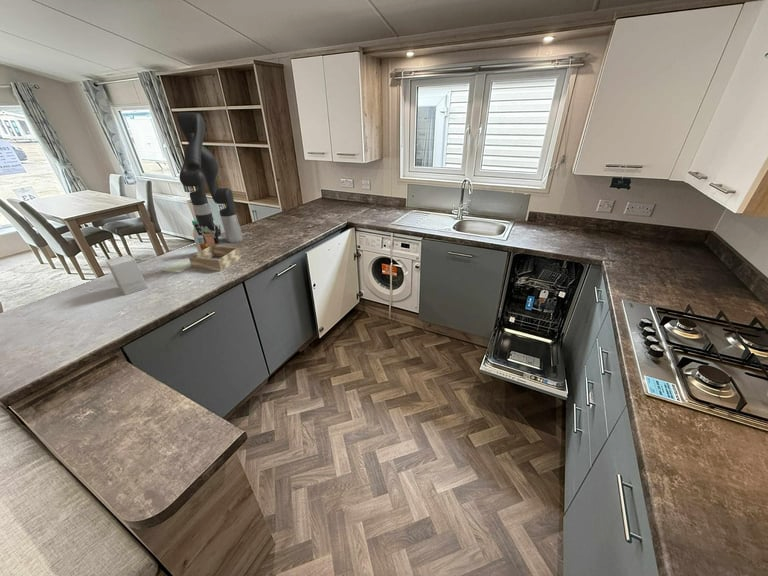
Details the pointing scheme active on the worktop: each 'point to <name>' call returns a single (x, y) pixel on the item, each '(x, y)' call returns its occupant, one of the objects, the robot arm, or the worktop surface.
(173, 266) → the sage mat
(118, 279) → the supplement box
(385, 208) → the worktop surface
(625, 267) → the worktop surface
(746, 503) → the worktop surface
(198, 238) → the milk bottle
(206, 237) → the terracotta pot
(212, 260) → the wooden shadow box
